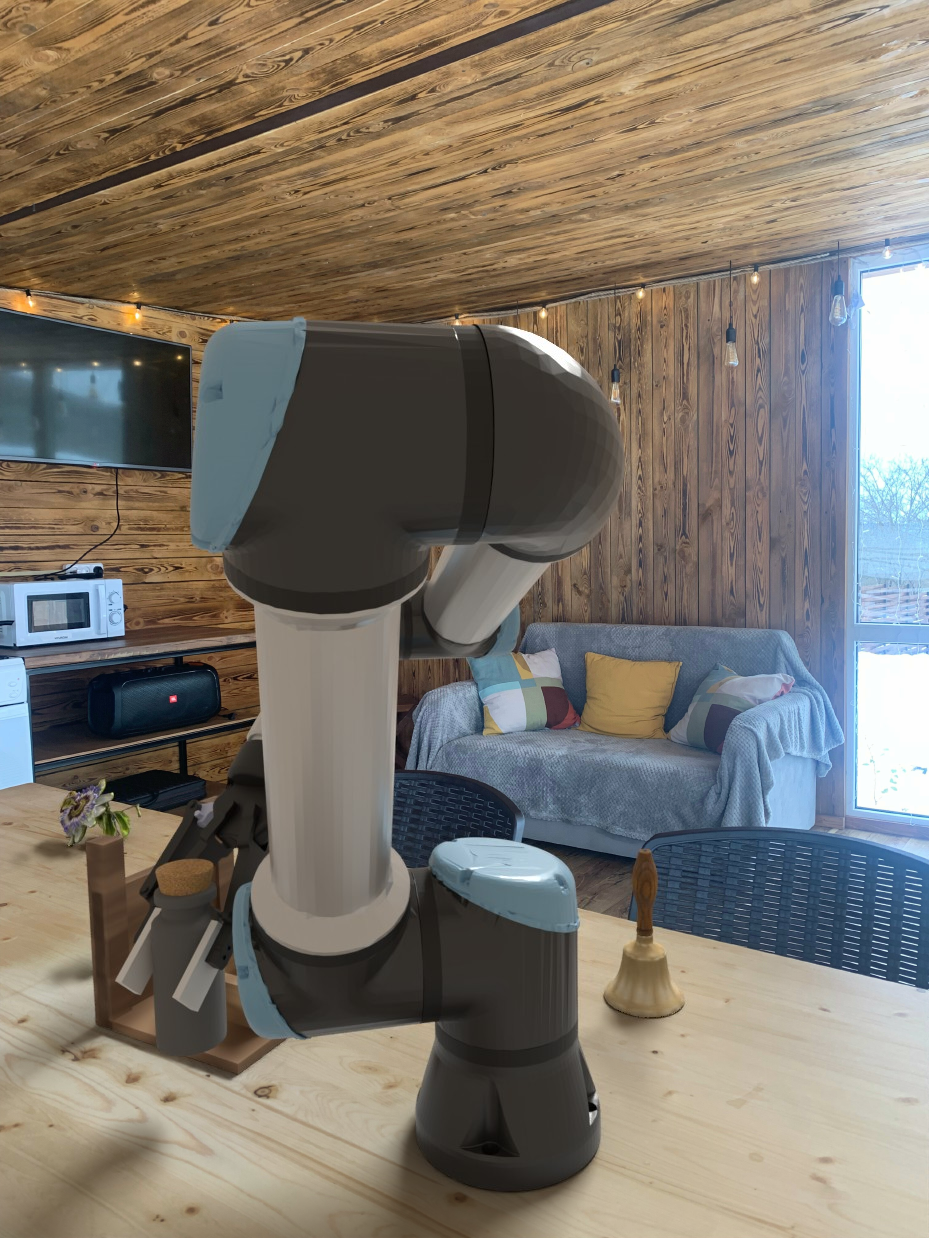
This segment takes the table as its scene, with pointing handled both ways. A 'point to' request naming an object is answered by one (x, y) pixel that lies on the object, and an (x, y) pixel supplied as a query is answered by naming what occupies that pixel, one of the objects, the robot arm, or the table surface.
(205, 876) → the bottle
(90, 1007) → the table surface
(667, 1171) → the table surface
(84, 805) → the passion flower
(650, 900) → the hand bell
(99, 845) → the wooden holder stand
